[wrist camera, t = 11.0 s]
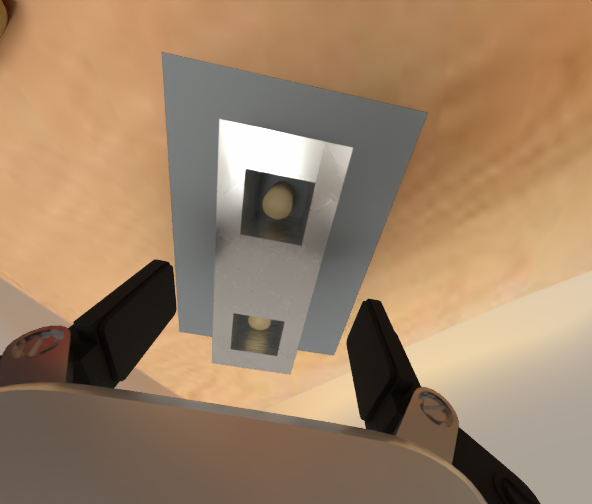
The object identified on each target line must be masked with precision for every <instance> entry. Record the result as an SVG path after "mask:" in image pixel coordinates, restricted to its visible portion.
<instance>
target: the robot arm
mask: <svg viewBox="0 0 592 504" xmlns="http://www.w3.org/2000/svg"><path fill="white" fill-rule="evenodd" d="M175 313H176V296H175V285H174V273H173V267H172V266H171V265H170V263H169V262H167V261H161V260H153V261H152V262H150V263H149V264H148V265H146V266H145V267H144V268H143V269H141V270H140V271H139V272H137V273H136V274H135V275H134V276H132V277H131V278H130V279H128V280H127V281H126V282H124V283H123V284H122V285H121V286H119V287H118V288H117V289H115V290H114V291H113V292H112V293H110V294H109V295H108V296H106V297H105V298H104V299H102V300H101V301H100V302H99V303H97V304H96V305H95V306H93V307H92V308H91V309H90V310H88V311H87V312H86V313H84V314H83V315H82V316H80V317H79V318H78V319H77V320H75V321H74V322H73V323H74V324H73V325H72V326H71V327H70V328H66V327H63V326H48V327H42V328H39V329H36V330H33V331H30V332H28V333H26V334H24V335H22V336H20V337H19V338H17V339H16V340H14V341H13V342H12V343H10V344H9V345H8V346H7V348H6V349H5V351H4V352H3V355H1V356H0V504H540V503H539V501H538V499H537V498H536V496H535V495H534V494H533V492H532V491H531V490H530V489H529V488H528V486H527V485H526V484H525V483H524V482H522V480H520V479H519V478H518V477H517V476H516V475H515V474H514V473H513V472H511V471H510V470H509V469H508V468H507V467H506V466H504V465H503V464H502V463H501V462H500V461H498V460H497V459H496V458H495V457H494V456H493V455H491V454H490V453H489V452H488V451H487V450H485V449H484V448H483V447H482V446H481V445H479V444H478V443H477V442H476V441H475V440H474V439H472V438H471V437H470V436H469V435H468V434H467V433H465V432H464V431H463V430H462V429H461V428H459V421H458V417H457V415H456V412H455V411H454V409H453V407H452V406H451V405H450V403H449V402H448V401H447V400H446V399H445V398H444V397H443V396H441V395H440V394H439V393H437V392H436V391H434V390H432V389H429V388H426V387H421V386H420V383H419V381H418V379H417V377H416V375H415V373H414V370H413V368H412V366H411V364H410V362H409V359H408V357H407V355H406V353H405V351H404V349H403V346H402V344H401V342H400V340H399V338H398V335H397V334H396V332H395V331H394V329H393V327H392V325H391V323H390V320H389V318H388V316H387V314H386V312H385V309H384V307H383V305H382V303H381V301H379V300H373V299H367V300H366V301H363V302H362V305H361V307H360V309H359V312H358V314H357V316H356V319H355V321H354V324H353V326H352V328H351V331H350V333H349V335H348V338H347V350H348V355H349V360H350V366H351V371H352V376H353V382H354V387H355V392H356V397H357V403H358V408H359V413H360V417H361V419H362V420H364V421H365V426H366V429H363V428H357V427H352V426H347V425H341V424H336V423H330V422H324V421H318V420H312V419H305V418H300V417H294V416H287V415H281V414H276V413H269V412H263V411H257V410H251V409H244V408H238V407H232V406H225V405H219V404H213V403H206V402H200V401H194V400H187V399H181V398H174V397H167V396H161V395H155V394H148V393H142V392H135V391H128V390H121V389H114V387H116V385H117V384H118V383H119V381H123V380H125V379H126V377H127V376H128V375H129V373H130V372H131V371H132V370H133V368H134V367H135V366H136V365H137V363H138V362H139V361H140V359H141V358H142V357H143V355H144V354H145V353H146V351H147V350H148V349H149V348H150V346H151V345H152V344H153V342H154V341H155V340H156V338H157V337H158V336H159V334H160V333H161V332H162V331H163V329H164V328H165V327H166V325H167V324H168V323H169V321H170V320H171V319H172V318H173V316H174V315H175Z"/></svg>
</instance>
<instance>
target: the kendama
mask: <svg viewBox="0 0 592 504" xmlns="http://www.w3.org/2000/svg"><path fill="white" fill-rule="evenodd" d="M7 21H8V15H7V11H6V8H5V6H4V4H3V2H2V0H0V37H1V35H2V34H3V32H4V30H5V28H6V25H7Z"/></svg>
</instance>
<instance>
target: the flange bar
mask: <svg viewBox="0 0 592 504" xmlns="http://www.w3.org/2000/svg"><path fill="white" fill-rule="evenodd" d="M352 150H353V148H352V147H347V146H343V145H338V144H334V143H329V142H324V141H320V140H315V139H310V138H306V137H301V136H296V135H292V134H287V133H283V132H278V131H273V130H269V129H264V128H259V127H255V126H250V125H245V124H241V123H236V122H232V121H227V120H222V119H219V145H218V177H217V210H216V242H215V275H214V307H213V340H212V363H215V364H222V365H229V366H235V367H242V368H249V369H256V370H262V371H269V372H276V373H283V374H289V375H290V374H291V370H292V367H293V363H294V360H295V356H296V352H297V349H298V345H299V342H300V338H301V334H302V331H303V327H304V323H305V320H306V316H307V313H308V309H309V305H310V302H311V298H312V295H313V291H314V287H315V284H316V280H317V277H318V273H319V269H320V266H321V262H322V258H323V255H324V251H325V248H326V244H327V240H328V237H329V233H330V230H331V226H332V222H333V219H334V215H335V212H336V208H337V204H338V201H339V197H340V193H341V190H342V186H343V183H344V179H345V175H346V172H347V168H348V165H349V161H350V157H351V154H352ZM261 172H265V173H270V174H275V175H280V176H285V177H290V178H295V179H300V180H305V181H310V182H309V187H308V192H307V196H306V201H305V206H304V211H303V215H302V219H301V218H296V217H291V216H287V217H285V218H283V219H273V218H271V217H269V216H268V215H267V214H266V213H265V211H259V210H257V207H258V198H259V190H260V181H261ZM249 316H254V317H260V318H266V319H271V324H270V326H269V327H268V328H267V329H264V330H257V329H254V328H253V327H251V326H250V324H249V322H248V319H249Z"/></svg>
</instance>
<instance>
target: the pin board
mask: <svg viewBox="0 0 592 504" xmlns="http://www.w3.org/2000/svg"><path fill="white" fill-rule="evenodd" d="M162 65H163V81H164V96H165V112H166V128H167V144H168V160H169V175H170V191H171V207H172V223H173V238H174V254H175V270H176V286H177V302H178V317H179V332H184V333H191V334H197V335H204V336H210V337H213V307H214V275H215V242H216V210H217V177H218V145H219V119H222V120H227V121H232V122H236V123H241V124H245V125H250V126H255V127H259V128H264V129H269V130H273V131H278V132H283V133H287V134H292V135H296V136H301V137H306V138H310V139H315V140H320V141H324V142H329V143H334V144H338V145H343V146H347V147H352V148H353V150H352V154H351V157H350V161H349V165H348V168H347V172H346V175H345V179H344V183H343V186H342V190H341V193H340V197H339V201H338V204H337V208H336V212H335V215H334V219H333V222H332V226H331V230H330V233H329V237H328V240H327V244H326V248H325V251H324V255H323V258H322V262H321V266H320V269H319V273H318V277H317V280H316V284H315V287H314V291H313V295H312V298H311V302H310V305H309V309H308V313H307V316H306V320H305V323H304V327H303V331H302V334H301V338H300V342H299V345H298V349H297V350H301V351H308V352H314V353H321V354H327V355H334V354H335V352H336V349H337V346H338V344H339V341H340V339H341V336H342V333H343V331H344V328H345V326H346V323H347V321H348V318H349V315H350V313H351V310H352V308H353V305H354V302H355V300H356V297H357V295H358V292H359V290H360V287H361V284H362V282H363V279H364V277H365V274H366V271H367V269H368V266H369V264H370V261H371V259H372V256H373V253H374V251H375V248H376V246H377V243H378V240H379V238H380V235H381V233H382V230H383V228H384V225H385V222H386V220H387V217H388V215H389V212H390V209H391V207H392V204H393V202H394V199H395V196H396V194H397V191H398V189H399V186H400V184H401V181H402V178H403V176H404V173H405V171H406V168H407V165H408V163H409V160H410V158H411V155H412V153H413V150H414V147H415V145H416V142H417V140H418V137H419V134H420V132H421V129H422V127H423V124H424V122H425V119H426V116H427V114H428V113H427V112H423V111H418V110H414V109H410V108H405V107H401V106H397V105H392V104H388V103H383V102H379V101H375V100H370V99H366V98H362V97H357V96H353V95H348V94H344V93H340V92H335V91H331V90H326V89H322V88H318V87H313V86H309V85H305V84H300V83H296V82H291V81H287V80H283V79H278V78H274V77H269V76H265V75H261V74H256V73H252V72H248V71H243V70H239V69H234V68H230V67H226V66H221V65H217V64H213V63H208V62H204V61H199V60H195V59H191V58H186V57H182V56H177V55H173V54H169V53H164V52H162ZM309 182H310V181H305V180H300V179H295V178H290V177H285V176H280V175H275V174H270V173H265V172H261V181H260V190H259V198H258V207H257V210H259V211H265V213H266V214H267V215H268V216H269V217H271V218H273V219H283V218H285V217H287V216H291V217H296V218H301V219H302V215H303V211H304V206H305V201H306V196H307V192H308V187H309ZM248 322H249V324H250V326H251V327H253V328H254V329H257V330H264V329H267V328H268V327H269V326H270V324H271V319H266V318H260V317H254V316H249V319H248Z"/></svg>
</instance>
